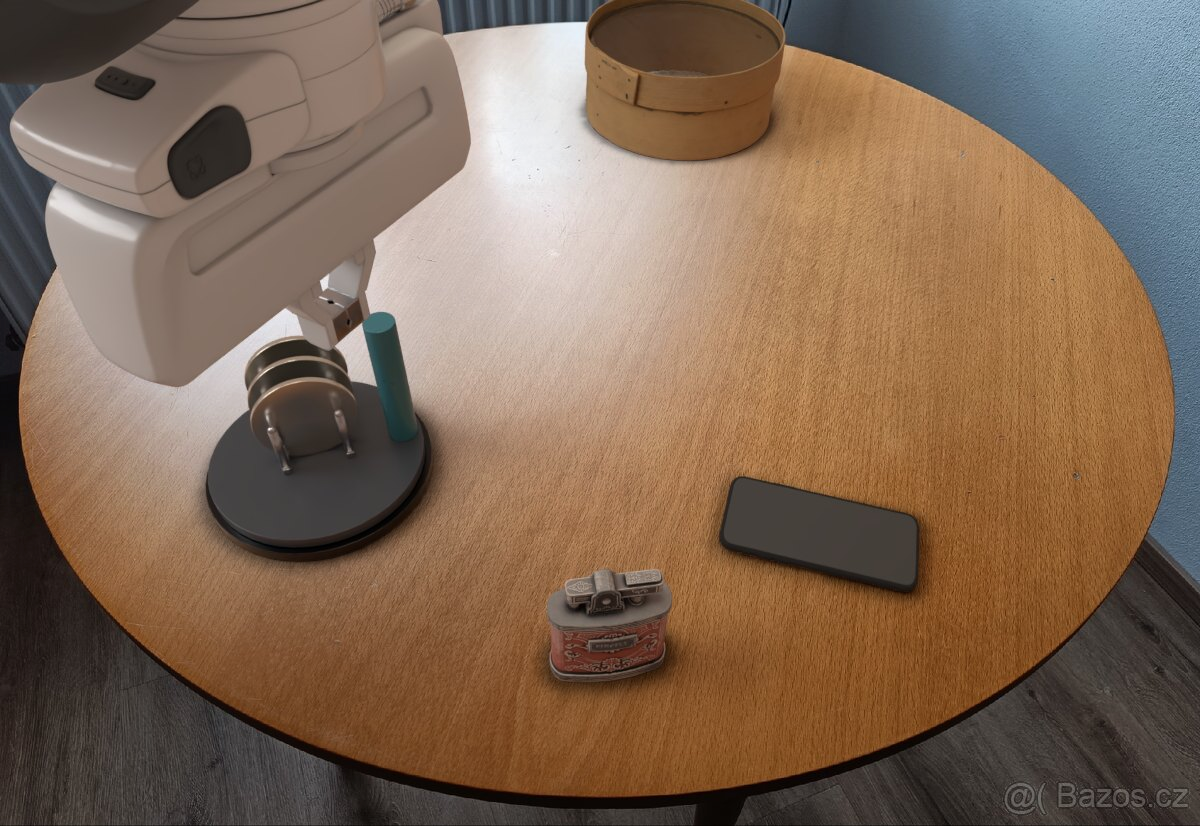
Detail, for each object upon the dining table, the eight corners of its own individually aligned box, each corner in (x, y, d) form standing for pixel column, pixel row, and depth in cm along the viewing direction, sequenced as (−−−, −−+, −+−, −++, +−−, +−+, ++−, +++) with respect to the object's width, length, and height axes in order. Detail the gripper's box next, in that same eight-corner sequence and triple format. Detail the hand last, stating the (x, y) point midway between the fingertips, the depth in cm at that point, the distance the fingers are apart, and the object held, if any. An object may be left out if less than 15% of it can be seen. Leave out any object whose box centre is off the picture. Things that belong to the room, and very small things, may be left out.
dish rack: (447, 510, 67) (425, 394, 58) (219, 575, 63) (155, 461, 53) (401, 369, 78) (376, 252, 69) (204, 416, 74) (149, 298, 64)
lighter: (552, 688, 58) (548, 612, 51) (547, 643, 61) (542, 564, 53) (669, 672, 59) (681, 595, 52) (659, 628, 61) (669, 548, 54)
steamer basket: (636, 180, 102) (640, 89, 94) (554, 90, 118) (552, 5, 110) (809, 138, 110) (827, 50, 102) (710, 59, 125) (719, -23, 117)
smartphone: (919, 592, 63) (717, 543, 65) (915, 598, 63) (715, 550, 66) (920, 514, 68) (732, 471, 70) (917, 521, 68) (731, 478, 71)
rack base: (334, 599, 63) (331, 592, 62) (160, 502, 69) (155, 494, 68) (475, 440, 74) (474, 432, 73) (315, 367, 80) (312, 359, 79)
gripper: (375, -48, 40) (417, 209, 50) (-42, 147, 27) (126, 438, 37) (488, -22, 38) (508, 242, 48) (94, 203, 25) (233, 495, 35)
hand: (338, 330), depth 42 cm, fingers closed
